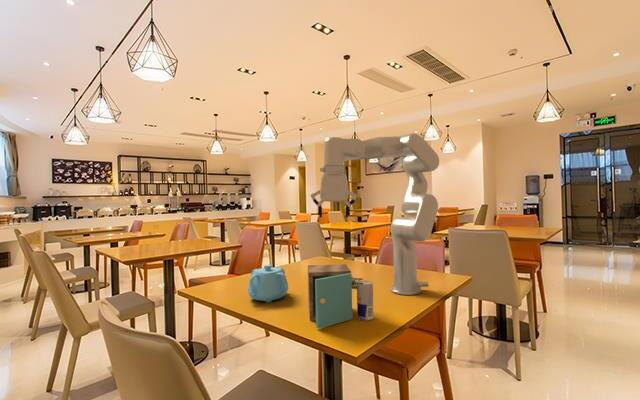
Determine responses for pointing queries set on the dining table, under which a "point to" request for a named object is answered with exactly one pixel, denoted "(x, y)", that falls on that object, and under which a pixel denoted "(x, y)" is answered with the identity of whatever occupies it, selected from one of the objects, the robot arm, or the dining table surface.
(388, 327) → the dining table surface
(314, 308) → the cabinet
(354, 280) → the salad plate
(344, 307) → the door
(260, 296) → the decorative pot
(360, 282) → the energy drink
